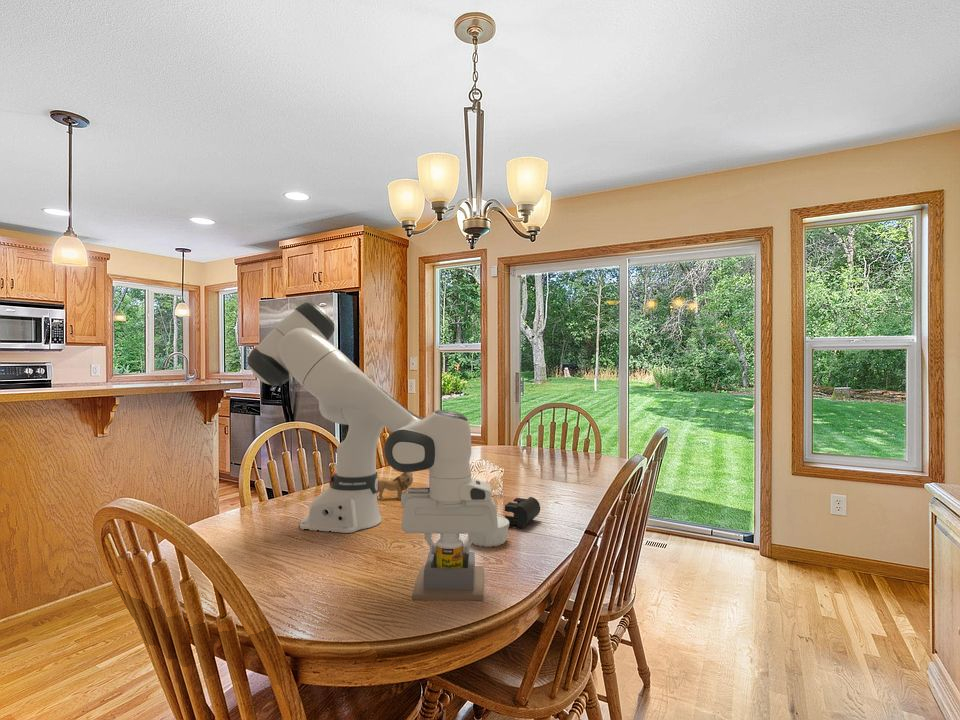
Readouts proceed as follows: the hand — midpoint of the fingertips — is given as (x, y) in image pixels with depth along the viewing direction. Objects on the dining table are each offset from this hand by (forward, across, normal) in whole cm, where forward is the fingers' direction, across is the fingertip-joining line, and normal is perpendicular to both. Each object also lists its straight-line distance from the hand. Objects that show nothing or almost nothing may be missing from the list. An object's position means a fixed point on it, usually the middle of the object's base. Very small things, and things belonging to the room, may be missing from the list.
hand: (450, 553), depth 109 cm
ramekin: (+7, +8, +26) cm, 28 cm away
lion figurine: (+7, -24, +65) cm, 70 cm away
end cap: (+7, +18, +40) cm, 44 cm away
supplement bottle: (+6, 0, 0) cm, 6 cm away
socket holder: (+6, 0, 0) cm, 7 cm away
